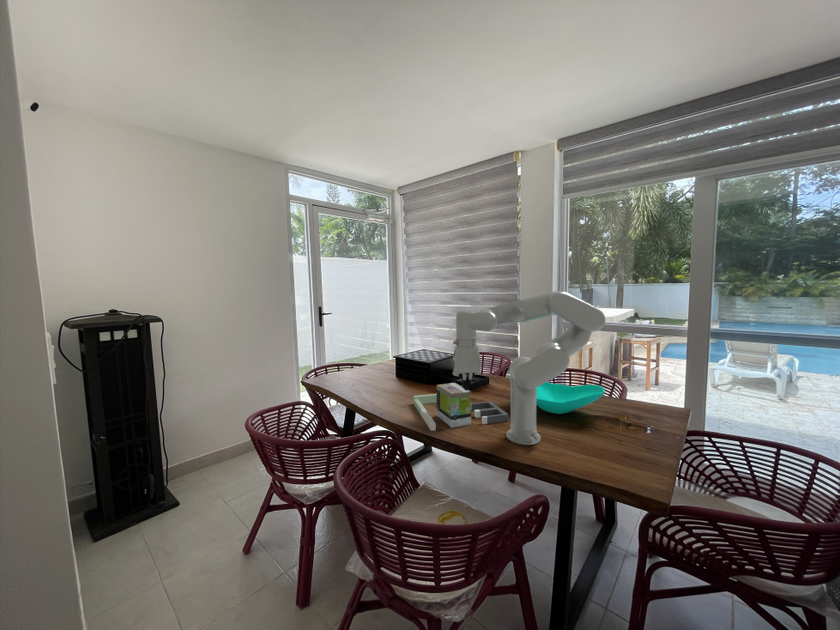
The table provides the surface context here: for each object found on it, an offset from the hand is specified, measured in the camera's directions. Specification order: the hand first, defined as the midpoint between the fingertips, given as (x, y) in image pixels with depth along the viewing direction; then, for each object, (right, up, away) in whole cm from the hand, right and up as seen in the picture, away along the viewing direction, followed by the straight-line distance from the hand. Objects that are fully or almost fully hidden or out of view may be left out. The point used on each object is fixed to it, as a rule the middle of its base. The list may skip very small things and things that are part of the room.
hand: (466, 389), depth 130 cm
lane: (-5, -17, +25) cm, 31 cm away
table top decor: (+45, -16, +25) cm, 54 cm away
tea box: (-3, -18, +17) cm, 25 cm away
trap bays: (+14, -17, +22) cm, 31 cm away
